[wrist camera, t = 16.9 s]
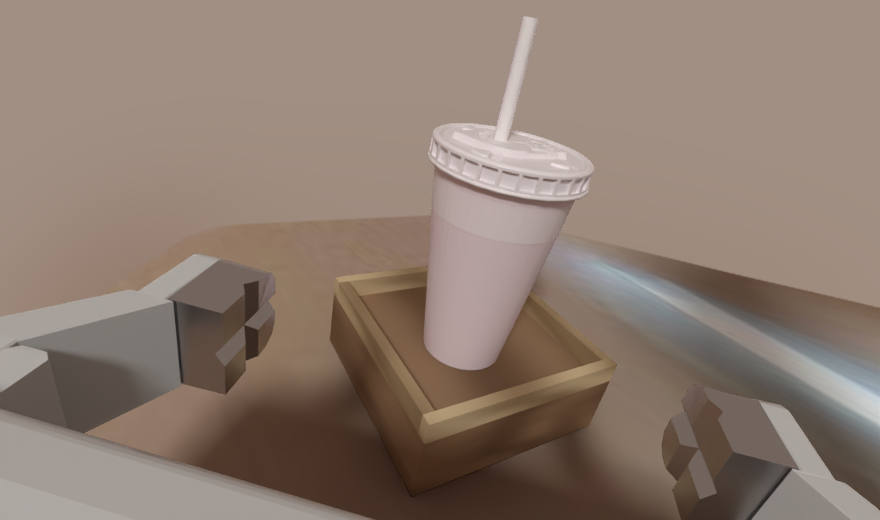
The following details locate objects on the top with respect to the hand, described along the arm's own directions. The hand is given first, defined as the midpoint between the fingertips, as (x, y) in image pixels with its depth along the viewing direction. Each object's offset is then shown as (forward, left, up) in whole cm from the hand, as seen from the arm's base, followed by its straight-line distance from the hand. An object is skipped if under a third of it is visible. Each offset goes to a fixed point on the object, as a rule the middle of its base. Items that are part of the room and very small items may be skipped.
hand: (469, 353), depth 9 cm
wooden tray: (-8, -9, -11) cm, 16 cm away
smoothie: (-7, -8, -8) cm, 14 cm away
